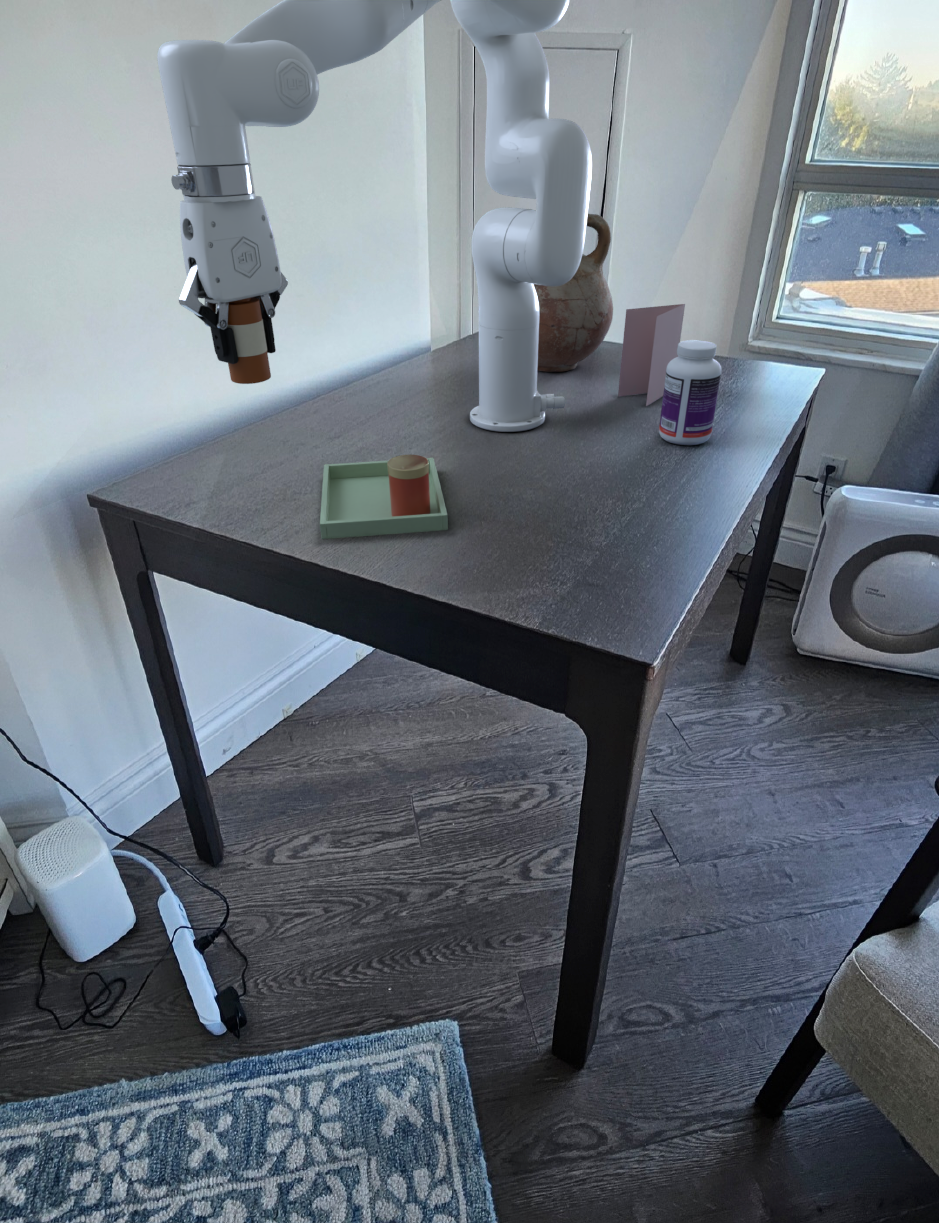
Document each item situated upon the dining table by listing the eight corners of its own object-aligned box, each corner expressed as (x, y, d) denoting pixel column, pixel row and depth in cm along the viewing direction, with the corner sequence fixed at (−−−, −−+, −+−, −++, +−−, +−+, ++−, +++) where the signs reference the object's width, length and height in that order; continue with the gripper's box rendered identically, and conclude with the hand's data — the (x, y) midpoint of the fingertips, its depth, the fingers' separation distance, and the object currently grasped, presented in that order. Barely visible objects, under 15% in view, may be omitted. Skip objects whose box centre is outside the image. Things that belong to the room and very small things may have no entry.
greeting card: (670, 388, 140) (682, 302, 132) (692, 400, 134) (706, 311, 126) (615, 395, 137) (623, 308, 129) (635, 407, 131) (645, 317, 123)
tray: (434, 474, 108) (433, 457, 107) (448, 533, 93) (447, 514, 92) (326, 481, 107) (323, 464, 105) (322, 543, 92) (319, 523, 90)
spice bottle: (273, 371, 95) (257, 268, 88) (269, 383, 91) (252, 275, 84) (233, 373, 94) (214, 269, 88) (228, 385, 90) (207, 277, 84)
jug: (501, 351, 163) (503, 192, 146) (601, 351, 162) (614, 191, 145) (501, 381, 145) (503, 205, 128) (614, 381, 144) (631, 203, 127)
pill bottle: (714, 433, 121) (730, 340, 113) (705, 450, 115) (721, 354, 107) (663, 426, 123) (676, 335, 115) (652, 443, 117) (664, 348, 109)
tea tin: (429, 503, 99) (426, 452, 95) (432, 520, 95) (430, 468, 91) (390, 506, 99) (386, 455, 95) (392, 523, 94) (388, 471, 91)
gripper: (170, 192, 74) (207, 378, 84) (301, 179, 85) (320, 345, 95) (126, 188, 77) (167, 367, 88) (257, 177, 89) (280, 337, 99)
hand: (247, 354), depth 91 cm, fingers closed on spice bottle, 4 cm apart
